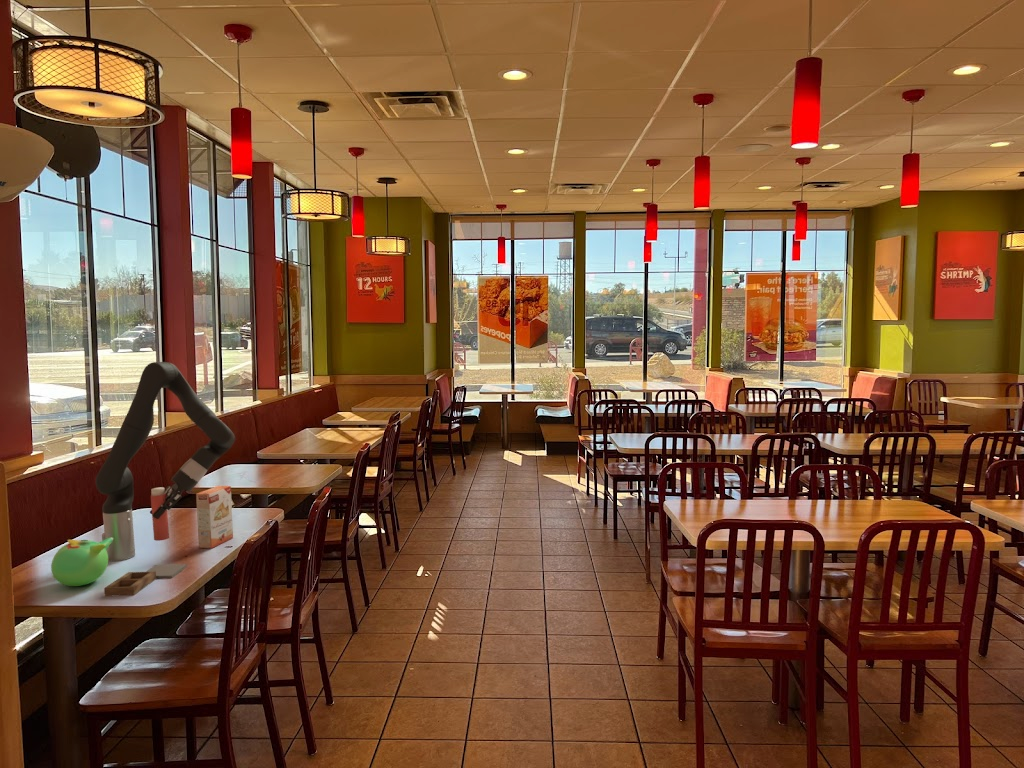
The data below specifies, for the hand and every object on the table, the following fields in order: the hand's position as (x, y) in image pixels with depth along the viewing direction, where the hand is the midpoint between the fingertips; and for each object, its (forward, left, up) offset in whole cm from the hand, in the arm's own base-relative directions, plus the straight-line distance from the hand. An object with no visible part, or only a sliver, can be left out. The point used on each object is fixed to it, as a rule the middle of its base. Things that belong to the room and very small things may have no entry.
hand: (153, 515), depth 236 cm
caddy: (-3, -12, -20) cm, 23 cm away
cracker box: (+6, +33, -20) cm, 39 cm away
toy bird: (-21, -7, -20) cm, 30 cm away
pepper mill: (+2, +1, -8) cm, 8 cm away
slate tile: (+1, +1, -20) cm, 20 cm away
